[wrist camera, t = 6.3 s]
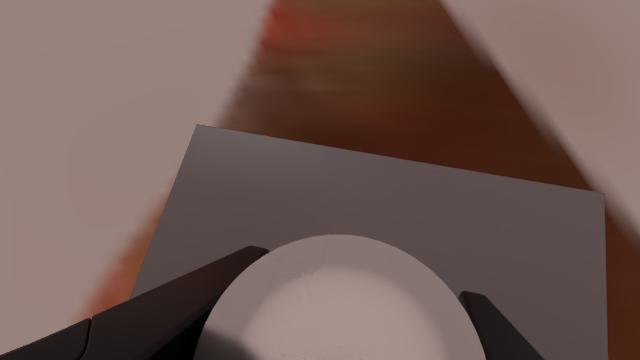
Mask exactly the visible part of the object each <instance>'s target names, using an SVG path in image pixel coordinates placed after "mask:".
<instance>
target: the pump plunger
mask: <svg viewBox="0 0 640 360" xmlns="http://www.w3.org/2000/svg"><path fill="white" fill-rule="evenodd" d="M193 360H486V358H485V354H484V351H483V348H482V345H481V342H480V340H479V337H478V334H477V332H476V330H475V328H474V326H473V324H472V322H471V320H470V318H469V316H468V314H467V312H466V311H465V309H464V308H463V306H462V305H461V303H460V302H459V300H458V299H457V297H456V296H455V295H454V294H453V292H452V291H451V290H450V289H449V288H448V286H447V285H446V284H445V283H444V282H443V281H442V280H441V279H440V278H439V277H438V276H437V275H436V274H435V273H434V272H433V271H432V270H430V269H429V268H428V267H427V266H425V265H424V264H423V263H421V262H420V261H419V260H417V259H416V258H414V257H413V256H411V255H409V254H407V253H406V252H404V251H402V250H400V249H398V248H396V247H394V246H391V245H389V244H386V243H384V242H381V241H377V240H374V239H370V238H366V237H361V236H353V235H331V234H330V235H321V236H313V237H309V238H305V239H301V240H297V241H294V242H291V243H289V244H286V245H284V246H281V247H279V248H277V249H275V250H273V251H271V252H270V253H268V254H266V255H264V256H263V257H261V258H260V259H258V260H257V261H256V262H254V263H253V264H251V265H250V266H249V267H248V268H247V269H246V270H244V271H243V272H242V273H241V274H240V275H239V276H238V277H237V278H236V279H235V280H234V281H233V282H232V283H231V285H230V286H229V287H228V288H227V289H226V290H225V292H224V293H223V294H222V296H221V297H220V299H219V300H218V302H217V303H216V305H215V306H214V308H213V309H212V311H211V313H210V315H209V317H208V319H207V321H206V323H205V325H204V327H203V330H202V333H201V335H200V338H199V341H198V343H197V347H196V351H195V354H194V358H193Z"/></svg>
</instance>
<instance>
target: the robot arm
mask: <svg viewBox="0 0 640 360" xmlns="http://www.w3.org/2000/svg"><path fill="white" fill-rule="evenodd" d="M268 253H270V251H269V250H268V249H266V248H262V247H257V246H253V245H249V246H247V247H244V248H242V249H240V250H238V251H236V252H233V253H231V254H229V255H227V256H225V257H222V258H220V259H218V260H216V261H214V262H211V263H209V264H207V265H205V266H202V267H200V268H198V269H196V270H194V271H191V272H189V273H187V274H185V275H183V276H180V277H178V278H176V279H174V280H171V281H169V282H167V283H165V284H163V285H160V286H158V287H156V288H154V289H152V290H149V291H147V292H145V293H143V294H141V295H138V296H136V297H134V298H132V299H129V300H127V301H125V302H123V303H121V304H118V305H116V306H114V307H112V308H109V309H107V310H105V311H103V312H101V313H98V314H96V315H94V316H93V317H92V320H91V319H90V318H87V319H85V320H83V321H80V322H78V323H76V324H74V325H72V326H69V327H67V328H65V329H63V330H60V331H58V332H56V333H53V334H51V335H49V336H47V337H44V338H42V339H40V340H37V341H35V342H32V343H30V344H28V345H25V346H22V347H20V348H17V349H15V350H12V351H10V352H7V353H5V354H2V355H0V360H193V358H194V354H195V351H196V347H197V343H198V341H199V338H200V335H201V333H202V330H203V327H204V325H205V323H206V321H207V319H208V317H209V315H210V313H211V311H212V309H213V308H214V306H215V305H216V303H217V302H218V300H219V299H220V297H221V296H222V294H223V293H224V292H225V290H226V289H227V288H228V287H229V286H230V285H231V283H232V282H233V281H234V280H235V279H236V278H237V277H238V276H239V275H240V274H241V273H242V272H243V271H244V270H246V269H247V268H248V267H249V266H250V265H251V264H253V263H254V262H256V261H257V260H258V259H260V258H261V257H263V256H264V255H266V254H268ZM458 300H459V302H460V303H461V305H462V306H463V308H464V309H465V311H466V312H467V314H468V316H469V318H470V320H471V322H472V324H473V326H474V328H475V330H476V332H477V334H478V337H479V340H480V342H481V345H482V348H483V351H484V354H485V358H486V360H545V359H544V358H543V357H542V356H541V355H540V354H539V353H538V352H537V351H536V349H535V348H534V347H533V346H532V345H531V344H530V343H529V342H528V341H527V340H526V339H525V338H524V337H523V335H522V334H521V333H520V332H519V331H518V330H517V329H516V328H515V327H514V326H513V325H512V324H511V323H510V321H509V320H508V319H507V318H506V317H505V316H504V315H503V314H502V313H501V312H500V311H499V310H498V309H497V307H496V306H495V305H494V304H493V303H492V302H491V301H490V300H489V299H488V298H487V297H486V296H485V295H483V294H479V293H474V292H469V291H462V292H461V293H460V295H459V297H458Z"/></svg>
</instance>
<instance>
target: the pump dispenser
mask: <svg viewBox="0 0 640 360" xmlns="http://www.w3.org/2000/svg"><path fill="white" fill-rule="evenodd" d="M330 234H331V235H353V236H361V237H366V238H370V239H374V240H377V241H381V242H384V243H386V244H389V245H391V246H394V247H396V248H398V249H400V250H402V251H404V252H406V253H407V254H409V255H411V256H413V257H414V258H416V259H417V260H419V261H420V262H421V263H423V264H424V265H425V266H427V267H428V268H429V269H430V270H432V271H433V272H434V273H435V274H436V275H437V276H438V277H439V278H440V279H441V280H442V281H443V282H444V283H445V284H446V285H447V286H448V288H449V289H450V290H451V291H452V292H453V294H454V295H455V296H456V297H457V299H458V297H459V295H460V293H461V292H462V291H469V292H474V293H479V294H483V295H485V296H486V297H487V298H488V299H489V300H490V301H491V302H492V303H493V304H494V305H495V306H496V307H497V309H498V310H499V311H500V312H501V313H502V314H503V315H504V316H505V317H506V318H507V319H508V320H509V321H510V323H511V324H512V325H513V326H514V327H515V328H516V329H517V330H518V331H519V332H520V333H521V334H522V335H523V337H524V338H525V339H526V340H527V341H528V342H529V343H530V344H531V345H532V346H533V347H534V348H535V349H536V351H537V352H538V353H539V354H540V355H541V356H542V357H543V358H544V359H545V360H608V333H607V287H606V242H605V196H604V193H599V192H593V191H587V190H581V189H576V188H570V187H564V186H558V185H552V184H546V183H540V182H534V181H528V180H523V179H517V178H511V177H505V176H499V175H493V174H487V173H481V172H475V171H470V170H464V169H458V168H452V167H446V166H440V165H434V164H428V163H423V162H417V161H411V160H405V159H399V158H393V157H387V156H381V155H375V154H370V153H364V152H358V151H352V150H346V149H340V148H334V147H328V146H322V145H317V144H311V143H305V142H299V141H293V140H287V139H281V138H275V137H269V136H264V135H258V134H252V133H246V132H240V131H234V130H228V129H222V128H216V127H211V126H204V125H198V124H197V125H196V128H195V130H194V133H193V135H192V138H191V141H190V143H189V146H188V148H187V151H186V154H185V156H184V159H183V161H182V164H181V166H180V169H179V172H178V174H177V177H176V179H175V182H174V185H173V187H172V190H171V192H170V195H169V197H168V200H167V203H166V205H165V208H164V210H163V213H162V216H161V218H160V221H159V223H158V226H157V229H156V231H155V234H154V236H153V239H152V241H151V244H150V247H149V249H148V252H147V254H146V257H145V260H144V262H143V265H142V267H141V270H140V272H139V275H138V278H137V280H136V283H135V285H134V288H133V291H132V293H131V296H130V298H129V299H132V298H134V297H136V296H138V295H141V294H143V293H145V292H147V291H149V290H152V289H154V288H156V287H158V286H160V285H163V284H165V283H167V282H169V281H171V280H174V279H176V278H178V277H180V276H183V275H185V274H187V273H189V272H191V271H194V270H196V269H198V268H200V267H202V266H205V265H207V264H209V263H211V262H214V261H216V260H218V259H220V258H222V257H225V256H227V255H229V254H231V253H233V252H236V251H238V250H240V249H242V248H244V247H247V246H249V245H253V246H257V247H262V248H266V249H268V250H269V251H270V252H271V251H273V250H275V249H277V248H279V247H281V246H284V245H286V244H289V243H291V242H294V241H297V240H301V239H305V238H309V237H313V236H321V235H330Z"/></svg>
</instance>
